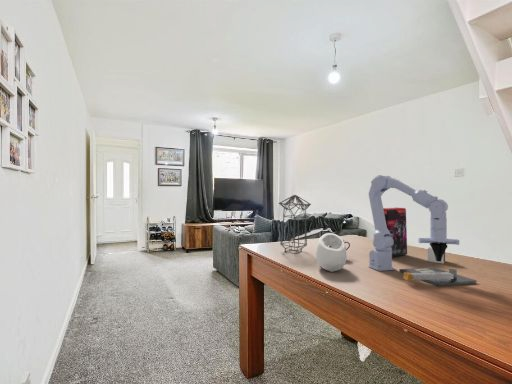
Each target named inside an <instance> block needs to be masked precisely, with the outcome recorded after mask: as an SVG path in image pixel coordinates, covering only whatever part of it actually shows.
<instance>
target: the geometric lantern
mask: <svg viewBox="0 0 512 384" xmlns="http://www.w3.org/2000/svg"><path fill="white" fill-rule="evenodd" d="M295 201H296V203H295ZM303 201H304V202H303ZM278 204H279V205H280V206H281V207H282V208H283V212H282V213H283V214H282V216H283V217H282V226H281V235H280V244H279V245H280V246H281V247H282V248H284V253H287V254H292V252H289V251H294V252H293V254H295V255H296V254H300V253H301V252H303V249H304V248H305V247H307V246H308V239H307V238H308V237H307V235H308V234H307V218H306V217H307V213H306V212H307V211H306V210H307V209H308V208H309V207H310V206H311V205H312V203H310V202H308V201H307V200H306V199H303V198H302V197H300V196H298V195H297V194H292V195H291V196H289V197H287V198H286V199H284V200H282V201H281V202H278ZM294 208H297V210H296V211H295V212H293V211H292V210H293V209H294ZM299 210H301V211H300V212H299V214H298V215H297V216H296V214H297V212H298V211H299ZM287 212H288V213H290V214H289V215H286V213H287ZM302 212H303V215H301V214H302ZM288 217H289V218H290V221H289V222H290V223H289V225H290V226H289V235H288V241H285V242H283V240H284V239H283V238H284V225H285V218H288ZM302 218H304V242H300V235H299V234H300V232H299V231H300V229H299V228H300V225H299V222H300V221H299V220H300V219H302ZM292 219H297V241H296V221H293V222H292ZM292 223H293V226H292ZM291 228H292V231H291ZM291 232H292V241H290V240H291ZM295 244H298V245H297V246H296V245H295Z"/></svg>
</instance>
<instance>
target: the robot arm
mask: <svg viewBox="0 0 512 384" xmlns="http://www.w3.org/2000/svg"><path fill="white" fill-rule="evenodd" d="M370 182H371V183H370V184H371V185H370V187H369V188H370V189H369V191H368V199H369V204H370V210H371V214H372V220H373V224H374V229H375V230H374V232H373V240H372V244H373V247H374V249H373V250H370V252H369V265H368V267H369V268H371V269H372V270H376V271H380V272H381V271H396V270H397V268H395V267H393V257H392V248H391V246H392V245H393V243H394V240H393V238H392V237H391V235H390V232H389V230H388V229H387V225H386V220H385V215H384V210H383V208H384V205H383V201H382V196H383V194H384V193H385V192H387V191H388V190H390V189H396V190H398V191H400V192H402V193H403V194H406V195H408V196H410V197H411V198H412V201H413V202H415V203H416V204H418V205H419V206H422V207H424V208H425V209H428V210H429V212H430V219H429V220H430V231H429V232H430V236H429V237H418V243H419V244H429V246H431V247H432V249H433V252H434V254H435V258H436V261H439V262H441V260H442V256H443V254H444V252H445V253H446V250H447V249H448V245H457V246H459V245H460V239H458V238H457V239H455V238H447V235H448V233H447V232H448V231H447V229H448V228H447V223H448V222H447V210H448V209H449V205H448V203H447V202H446V201H445V200H444V199H441V198H440V199H439V197H438V196H436V195H435V196H433V195H432V194H430V193H428V191H427V190H426V189H419V190H417V189H414V188H413V187H411V186H409V185H407V184H406V183H404V182H403V181H400V180H399V179H396V178H394V177H392V176H389V175H380V174H379V175H376V176H374V178H373V179H371V181H370Z"/></svg>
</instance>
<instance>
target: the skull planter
mask: <svg viewBox="0 0 512 384" xmlns="http://www.w3.org/2000/svg"><path fill="white" fill-rule="evenodd" d="M343 240H344V239H343V238H342V237H340V235H338V234H336V233H332V232H326V233H324V234H322V235H321V236H320V237H319V238H318V242H317V246H316V250H315V255H316V258H315V260H316V263H317V265H318V266H319V267H320V268H322V269H324V270H326V271H328V272H330V273H333V272H337V271H340V270H341V269H343V268H344V266H345V265H346V261H347V259H348V258H347V257H348V255H347V250H346V249H347V246H346V243H344V242H345V240H344V241H343ZM330 246H331V247H330Z"/></svg>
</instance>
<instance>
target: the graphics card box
mask: <svg viewBox="0 0 512 384" xmlns="http://www.w3.org/2000/svg"><path fill="white" fill-rule="evenodd" d="M383 210H384V215H385V220H386V225H387V229H388V230H389V232H390V235H391V237H392V238H393V240H394V243H393V245H392V246H391V248H392V258H394V257H399V256H406V255H408V237H407V236H408V234H407V229H408V228H407V208H406V207H405V208H404V207H383Z"/></svg>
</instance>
